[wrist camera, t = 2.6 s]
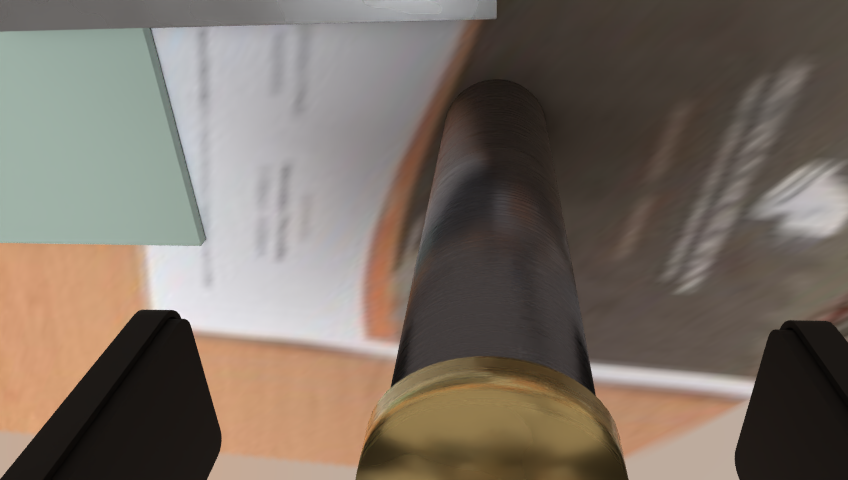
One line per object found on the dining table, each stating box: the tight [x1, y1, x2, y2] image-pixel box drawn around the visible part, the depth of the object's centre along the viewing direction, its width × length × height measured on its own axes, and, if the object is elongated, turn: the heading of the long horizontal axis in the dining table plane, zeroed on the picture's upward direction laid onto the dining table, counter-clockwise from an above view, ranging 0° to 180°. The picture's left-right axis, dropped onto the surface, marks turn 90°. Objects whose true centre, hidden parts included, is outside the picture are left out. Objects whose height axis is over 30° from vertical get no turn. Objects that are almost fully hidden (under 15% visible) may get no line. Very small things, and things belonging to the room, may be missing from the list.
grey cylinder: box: [356, 80, 628, 480], centre depth 13 cm, size 3×3×13 cm
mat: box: [0, 28, 206, 246], centre depth 20 cm, size 10×10×1 cm
